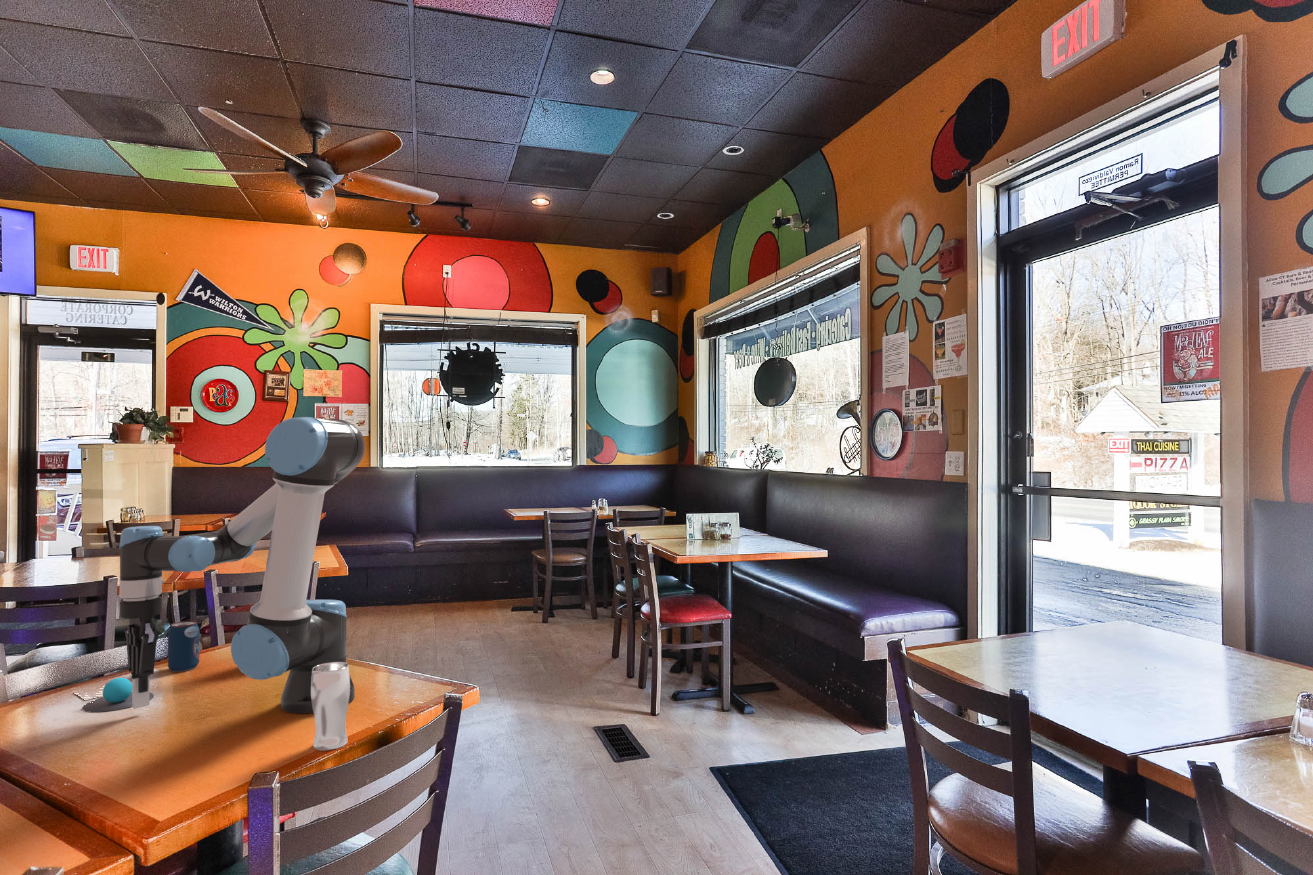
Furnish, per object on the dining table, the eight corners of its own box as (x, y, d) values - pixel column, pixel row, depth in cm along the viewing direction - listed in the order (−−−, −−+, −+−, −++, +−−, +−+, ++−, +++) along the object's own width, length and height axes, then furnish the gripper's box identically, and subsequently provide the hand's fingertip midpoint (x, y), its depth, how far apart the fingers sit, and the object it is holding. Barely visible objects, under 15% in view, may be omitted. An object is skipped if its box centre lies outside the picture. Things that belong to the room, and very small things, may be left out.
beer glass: (324, 754, 134) (324, 674, 134) (303, 747, 138) (303, 668, 138) (357, 741, 140) (357, 664, 140) (336, 734, 143) (335, 659, 144)
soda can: (202, 668, 190) (202, 622, 190) (171, 674, 185) (172, 627, 185) (195, 663, 194) (195, 618, 195) (164, 669, 189) (165, 623, 190)
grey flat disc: (162, 699, 165) (162, 698, 165) (93, 716, 155) (93, 715, 155) (142, 688, 173) (142, 688, 173) (75, 704, 163) (75, 703, 163)
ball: (134, 703, 165) (137, 681, 164) (105, 710, 161) (107, 687, 160) (127, 692, 168) (129, 670, 167) (98, 699, 164) (100, 676, 163)
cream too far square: (131, 690, 172) (131, 689, 172) (84, 700, 165) (84, 699, 165) (118, 683, 178) (118, 682, 178) (73, 693, 171) (73, 692, 171)
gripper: (172, 598, 155) (171, 707, 155) (150, 591, 163) (150, 695, 163) (131, 604, 149) (130, 717, 149) (110, 596, 157) (109, 705, 157)
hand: (140, 706), depth 156 cm, fingers closed
